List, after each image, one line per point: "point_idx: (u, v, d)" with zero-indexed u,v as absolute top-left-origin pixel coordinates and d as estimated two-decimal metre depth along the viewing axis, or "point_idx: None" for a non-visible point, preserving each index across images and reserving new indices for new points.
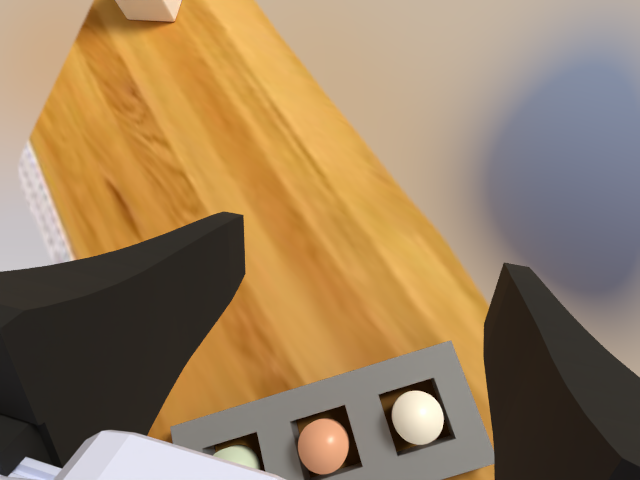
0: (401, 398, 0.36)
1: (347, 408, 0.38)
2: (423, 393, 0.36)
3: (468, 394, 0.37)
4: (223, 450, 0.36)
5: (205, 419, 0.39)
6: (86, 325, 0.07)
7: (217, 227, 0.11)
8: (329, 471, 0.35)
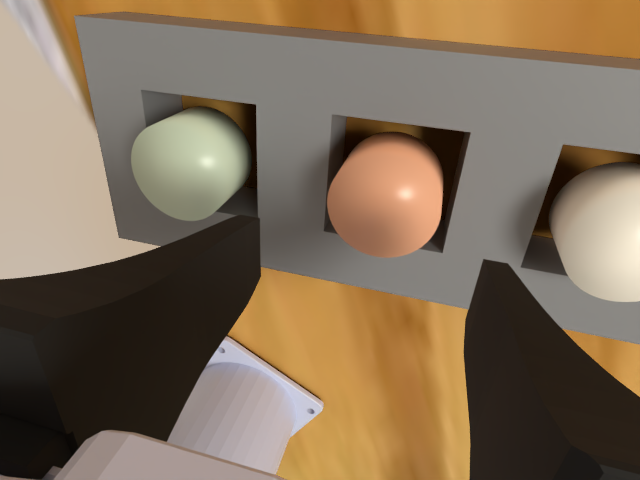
0: (628, 198, 0.13)
1: (472, 142, 0.16)
2: None
3: None
4: (171, 126, 0.16)
5: (149, 31, 0.17)
6: (113, 332, 0.07)
7: (235, 231, 0.11)
8: (376, 253, 0.17)
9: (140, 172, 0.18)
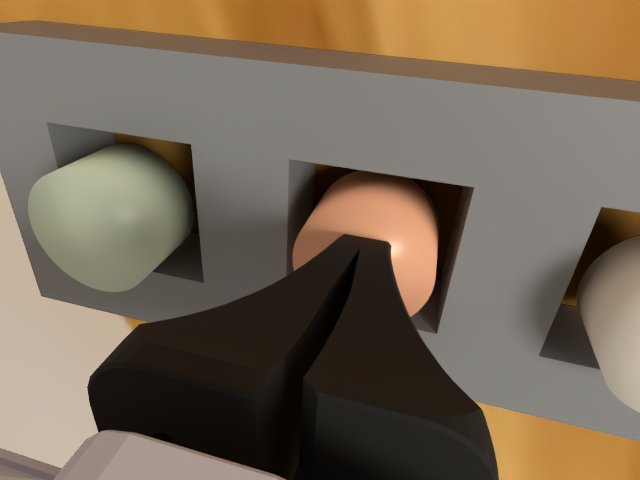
0: None
1: (476, 200, 0.12)
2: None
3: None
4: (73, 176, 0.12)
5: (48, 48, 0.13)
6: (290, 377, 0.07)
7: (354, 253, 0.10)
8: None
9: (42, 231, 0.13)
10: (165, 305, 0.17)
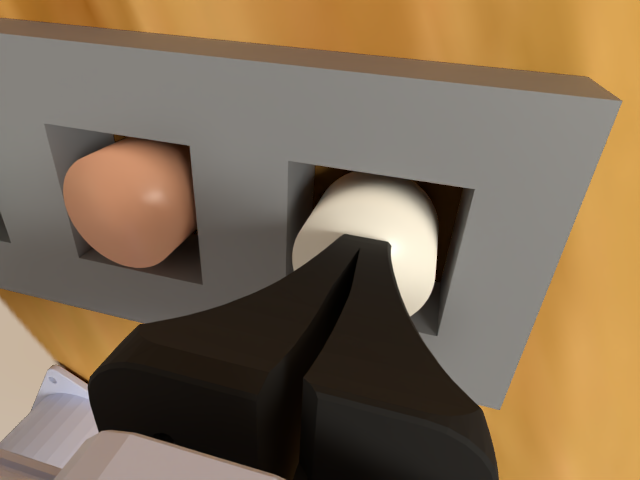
0: (338, 210, 0.12)
1: (194, 158, 0.13)
2: (407, 226, 0.11)
3: (542, 273, 0.12)
4: None
5: None
6: (290, 377, 0.07)
7: (354, 253, 0.10)
8: (128, 263, 0.15)
9: None
10: None
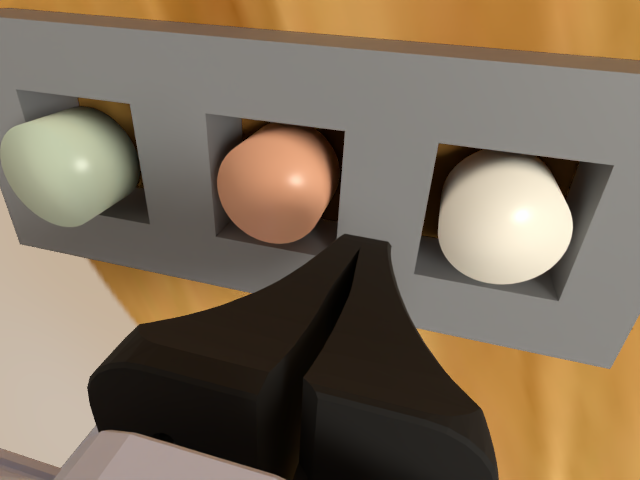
0: (490, 180, 0.14)
1: (347, 142, 0.15)
2: (552, 193, 0.13)
3: None
4: (33, 127, 0.15)
5: (14, 27, 0.16)
6: (290, 377, 0.07)
7: (354, 253, 0.10)
8: (269, 240, 0.17)
9: (12, 176, 0.17)
10: (121, 246, 0.20)
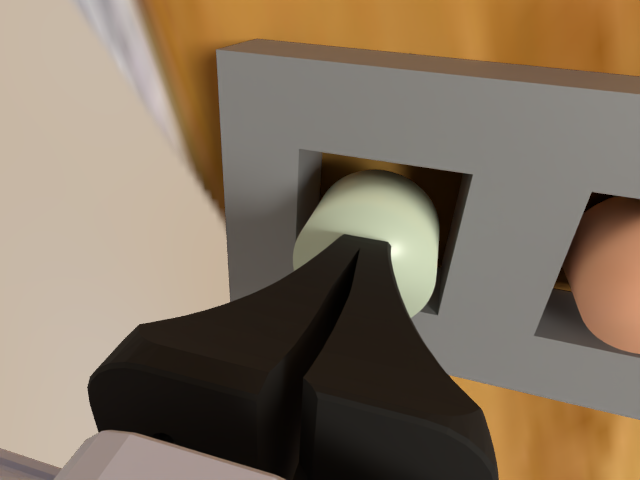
0: None
1: None
2: None
3: None
4: (369, 209, 0.11)
5: (328, 72, 0.12)
6: (290, 377, 0.07)
7: (354, 253, 0.10)
8: (634, 349, 0.13)
9: None
10: None
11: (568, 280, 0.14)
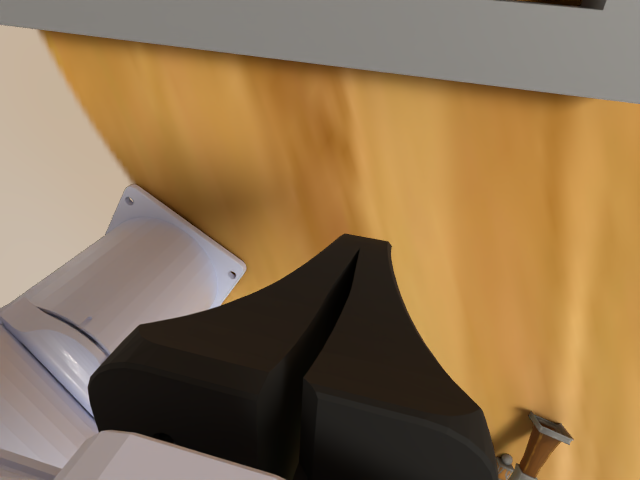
0: None
1: None
2: None
3: None
4: None
5: None
6: (290, 377, 0.07)
7: (354, 253, 0.10)
8: None
9: None
10: (97, 7, 0.17)
11: None
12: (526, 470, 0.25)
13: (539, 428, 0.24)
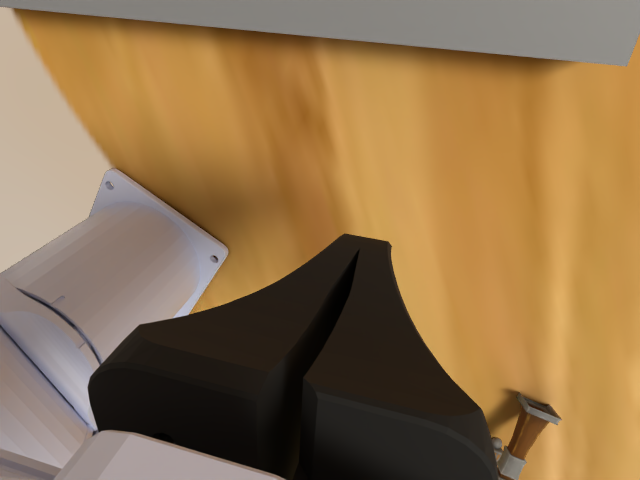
0: None
1: None
2: None
3: None
4: None
5: None
6: (290, 377, 0.07)
7: (354, 253, 0.10)
8: None
9: None
10: None
11: None
12: (514, 452, 0.24)
13: (526, 408, 0.24)
